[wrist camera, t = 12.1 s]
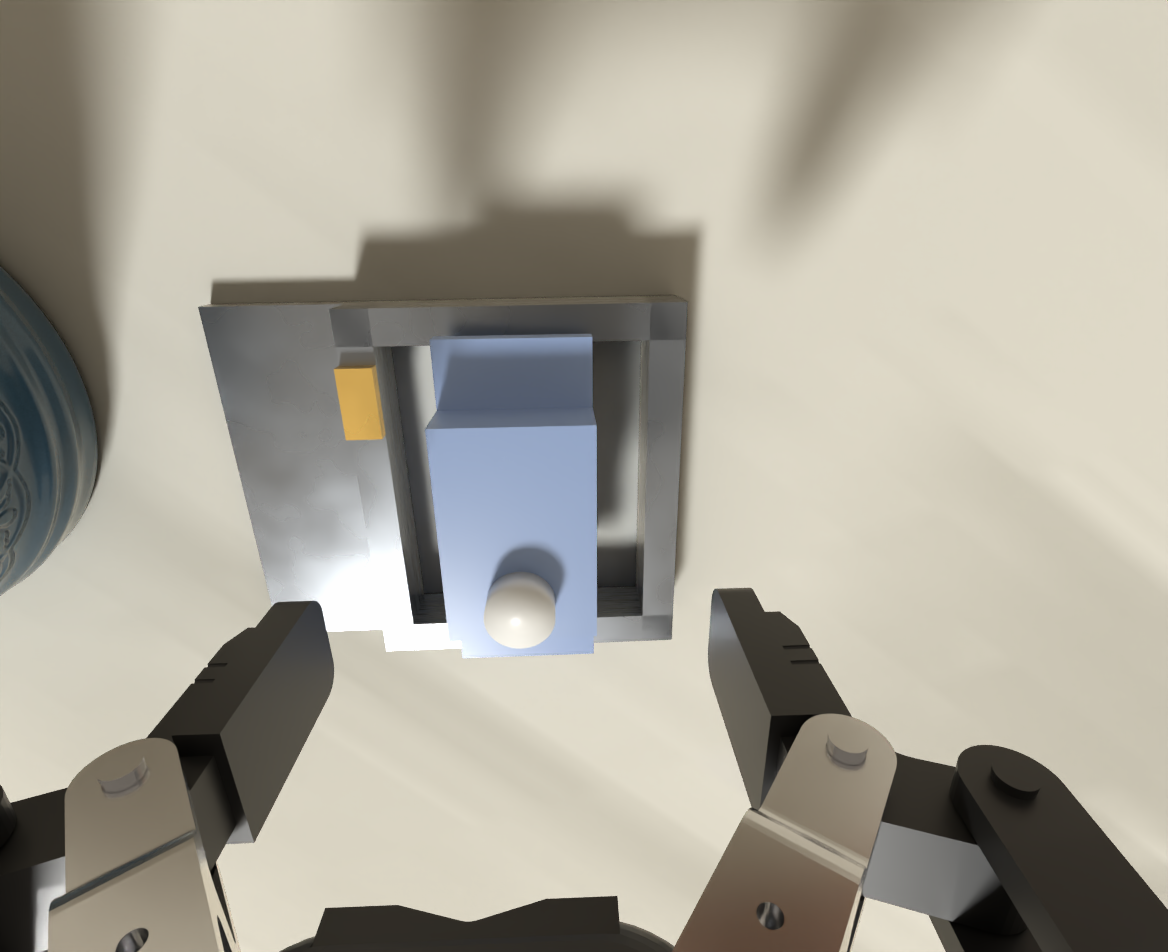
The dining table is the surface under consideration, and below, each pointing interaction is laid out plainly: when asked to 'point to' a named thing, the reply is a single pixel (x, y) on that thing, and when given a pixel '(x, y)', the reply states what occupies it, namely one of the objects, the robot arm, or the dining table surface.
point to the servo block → (516, 492)
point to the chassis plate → (377, 453)
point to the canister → (39, 437)
